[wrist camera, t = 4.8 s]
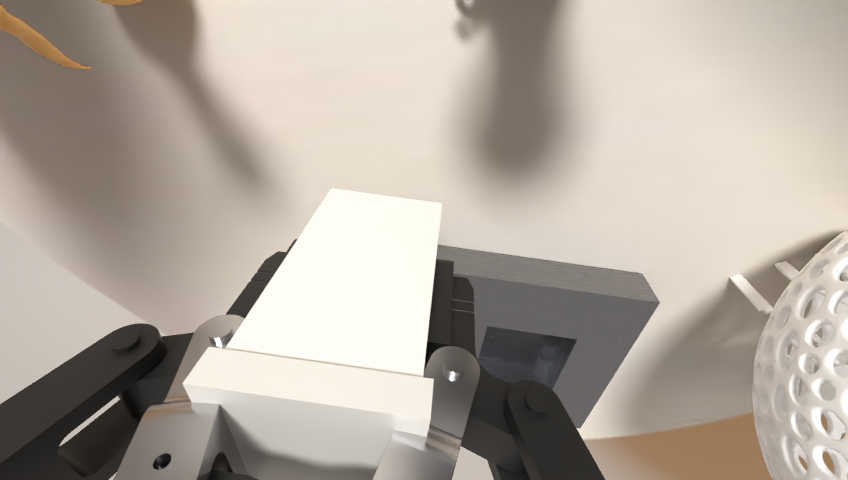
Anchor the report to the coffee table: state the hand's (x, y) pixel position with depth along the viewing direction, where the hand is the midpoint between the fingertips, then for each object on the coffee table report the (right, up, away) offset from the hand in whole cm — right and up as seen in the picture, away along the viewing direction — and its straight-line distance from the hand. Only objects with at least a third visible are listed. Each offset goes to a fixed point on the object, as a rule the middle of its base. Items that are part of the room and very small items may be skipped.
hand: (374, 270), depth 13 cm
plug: (0, +1, +1) cm, 2 cm away
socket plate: (+6, -5, +13) cm, 16 cm away
